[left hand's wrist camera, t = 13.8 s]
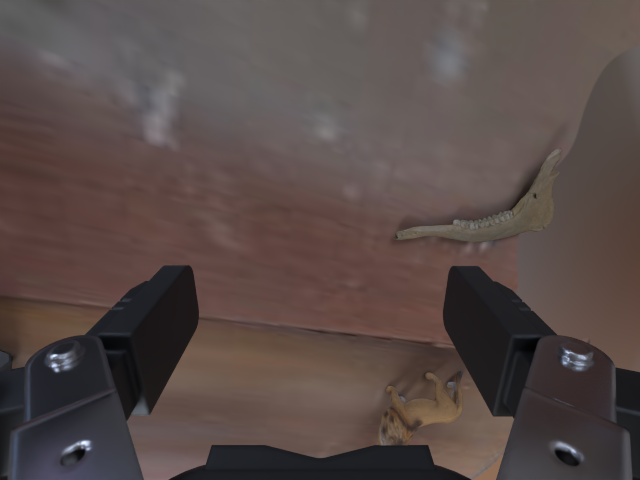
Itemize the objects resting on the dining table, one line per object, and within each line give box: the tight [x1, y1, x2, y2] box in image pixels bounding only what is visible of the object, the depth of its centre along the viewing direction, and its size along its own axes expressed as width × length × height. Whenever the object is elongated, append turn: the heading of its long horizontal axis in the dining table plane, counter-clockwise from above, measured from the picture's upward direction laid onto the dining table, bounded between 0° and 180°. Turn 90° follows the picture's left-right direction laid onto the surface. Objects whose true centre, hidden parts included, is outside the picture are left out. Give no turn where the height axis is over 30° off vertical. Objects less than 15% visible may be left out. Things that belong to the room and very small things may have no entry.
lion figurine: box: [378, 371, 463, 445], centre depth 49 cm, size 15×5×9 cm, turn 121°
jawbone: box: [394, 148, 562, 242], centre depth 43 cm, size 9×20×2 cm, turn 122°
